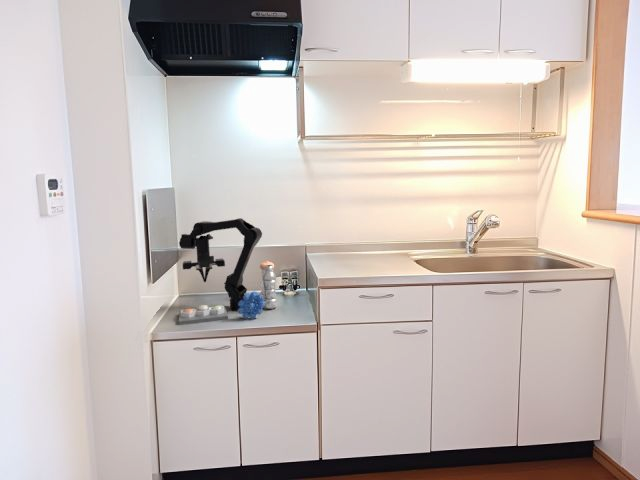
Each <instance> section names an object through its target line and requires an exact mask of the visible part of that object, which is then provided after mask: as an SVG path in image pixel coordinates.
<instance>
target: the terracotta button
mask: <svg viewBox="0 0 640 480" xmlns="http://www.w3.org/2000/svg"><path fill="white" fill-rule="evenodd" d="M193 309H194V308H190V307H189V308H184V309H183V310H184V312H185V313H189V312H193Z"/></svg>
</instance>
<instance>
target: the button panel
mask: <svg viewBox="0 0 640 480" xmlns="http://www.w3.org/2000/svg"><path fill="white" fill-rule="evenodd" d="M221 306H222V308H221V309H218V310H215V309H212V307H213V306H207V307H208V310H205V311H198V307H197V308H192V309H193V312H189V313H185V312H184V309H181V310H180V311H179V313H178V325H180V326H182V325H189V324H199V323H208V322H218V321H224V320H225V321H226V320H229V315H228V311H227V309H226V306H224V305H221Z"/></svg>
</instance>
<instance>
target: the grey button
mask: <svg viewBox="0 0 640 480" xmlns="http://www.w3.org/2000/svg"><path fill="white" fill-rule="evenodd" d="M208 307H209V306H208V305H207V304H200V305H198V306H197V308H198V311H205V310H208Z"/></svg>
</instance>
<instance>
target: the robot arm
mask: <svg viewBox="0 0 640 480" xmlns="http://www.w3.org/2000/svg"><path fill="white" fill-rule="evenodd" d="M229 229H237V230H238V231H239V233H240V235H242V236H244V237H243V247H242V250H241V251H240V254H239V257H238V260H237V262H236V265H235V267H234V270H233V272H232V273H231V274H229V275H227V276H226V279H225V281H224V283H223V285H224V291H226V293H227V295H228V297H229V309H231V311H232V312H233V311H238V309H239V308H240V306H239V305H238V303H239V301H240V300H244V299H243V296H244V295H245V294H247V291H248V289H247V287H246V286H245V285H244V284H243V282H244V276H243V275H244V273H245V270H246V268H247V266H248V263H249V260H250V258H251V255H252V253H253V250H254V248H255V247H256V246H257V244H258V243H259V242H260V240H261V238H262V236H263V232H262V230H261V228H258V227H255V226H254V225H253V224H251V223H249V222H247V221H246V220H244V218H241V217H239V218H236V219H230V220H229V219H228V220H222V221H206V220H204V221H198V222H196V223H194V225H193V227H192V230H191V232H190V234H187V233H183V234H182V233H181V237H180V238H179V243H178V244H179V248H181V249H183V250H185V249H187V250H188V249H189V250H190V249H191V250H194V249H196V262H192V260H185V261H183V262H182V270H191V268H194V267H195V271H199V274H200V275H201V278H202V280H203V282H204V283H207V281H208V276H209V273H210V270H212V269H213V266H217V267H225V266H226V263H225V259H224V258H215V257H214V256H215V255H211V254H210V240H213V239H214V237H213V236H212V235H211V234H210V233H211V232H214V231H220V230H229ZM198 236H199V237H198ZM204 269H205V270H204Z"/></svg>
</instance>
